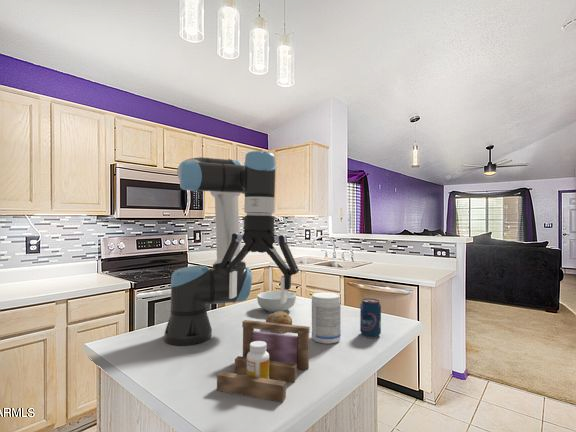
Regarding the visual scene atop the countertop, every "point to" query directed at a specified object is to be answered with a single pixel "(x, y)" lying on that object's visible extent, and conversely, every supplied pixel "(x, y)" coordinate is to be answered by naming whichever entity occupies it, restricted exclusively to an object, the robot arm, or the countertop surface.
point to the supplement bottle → (258, 360)
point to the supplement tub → (326, 317)
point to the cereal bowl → (275, 301)
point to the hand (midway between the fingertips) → (257, 300)
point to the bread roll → (279, 318)
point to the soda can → (370, 318)
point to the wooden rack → (282, 361)
